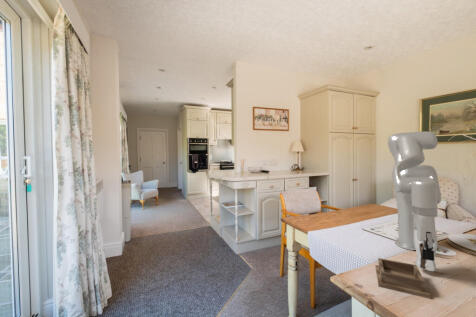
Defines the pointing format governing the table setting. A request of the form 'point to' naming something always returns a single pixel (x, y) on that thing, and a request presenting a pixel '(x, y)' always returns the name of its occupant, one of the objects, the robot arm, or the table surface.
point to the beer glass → (420, 261)
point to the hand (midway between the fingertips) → (425, 254)
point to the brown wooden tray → (401, 277)
